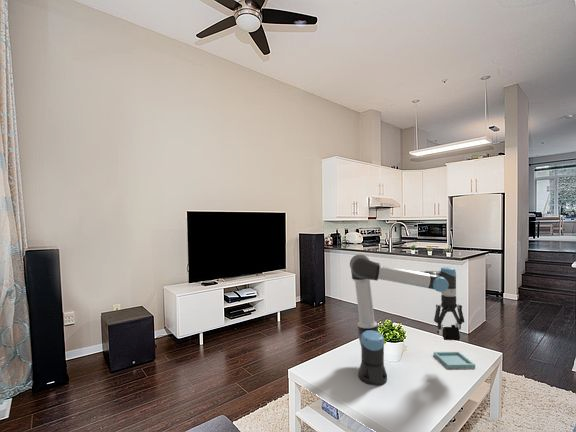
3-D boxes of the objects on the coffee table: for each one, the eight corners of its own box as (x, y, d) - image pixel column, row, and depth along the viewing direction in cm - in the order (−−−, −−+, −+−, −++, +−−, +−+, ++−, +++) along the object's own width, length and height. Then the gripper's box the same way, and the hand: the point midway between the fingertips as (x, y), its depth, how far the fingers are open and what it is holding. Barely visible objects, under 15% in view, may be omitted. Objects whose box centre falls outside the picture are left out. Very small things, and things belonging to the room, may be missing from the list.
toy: (449, 325, 180) (460, 324, 166) (451, 339, 177) (462, 340, 163) (433, 324, 181) (442, 324, 167) (435, 339, 178) (444, 340, 164)
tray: (447, 368, 172) (447, 364, 172) (433, 355, 188) (433, 352, 188) (475, 368, 172) (475, 364, 172) (458, 354, 188) (458, 351, 188)
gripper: (432, 297, 166) (433, 337, 166) (471, 296, 166) (472, 337, 166) (426, 293, 174) (427, 332, 174) (463, 292, 174) (464, 331, 174)
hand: (449, 334), depth 170 cm, fingers closed on toy, 9 cm apart
